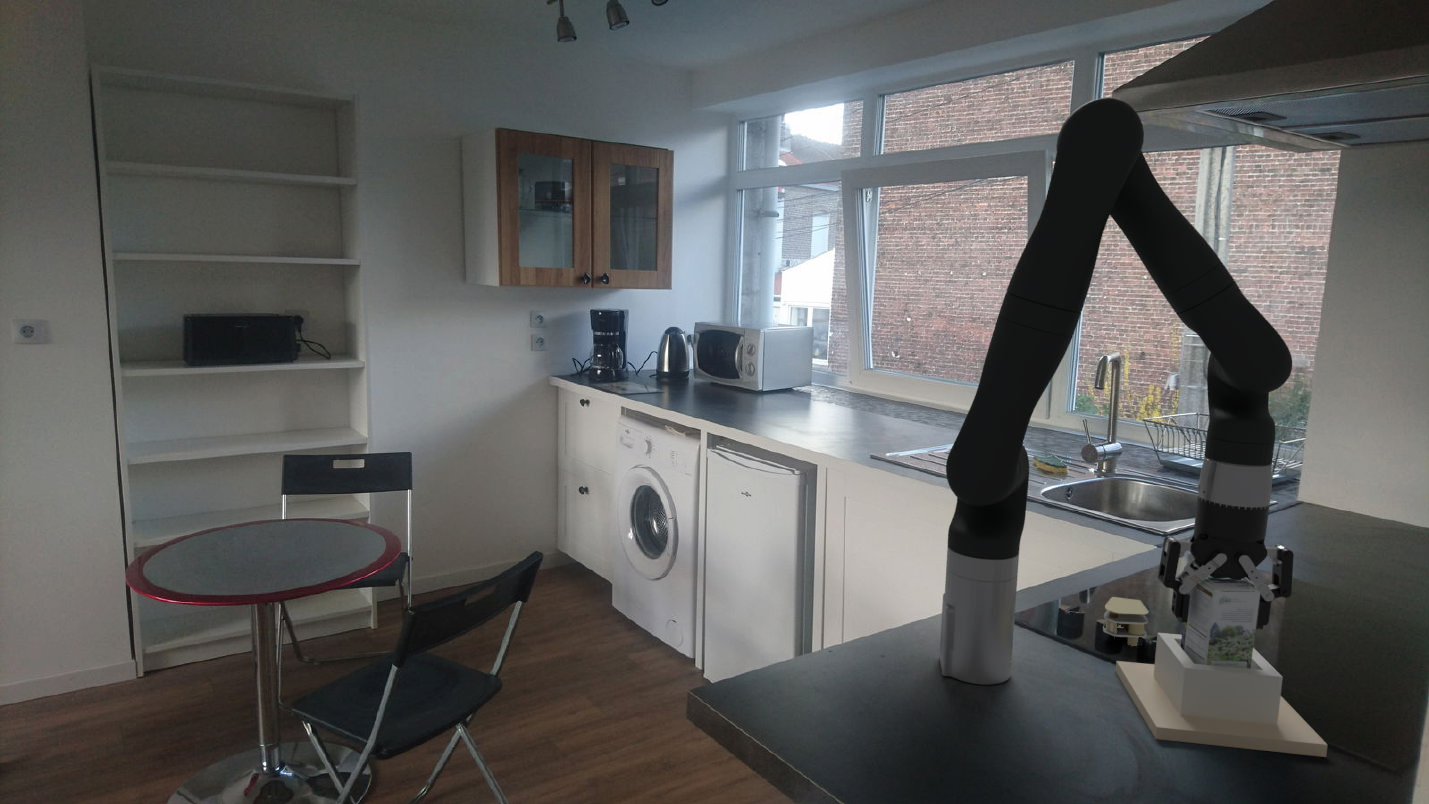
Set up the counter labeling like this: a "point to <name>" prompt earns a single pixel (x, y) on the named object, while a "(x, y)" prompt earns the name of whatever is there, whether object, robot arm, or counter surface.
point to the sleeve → (1216, 702)
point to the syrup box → (1221, 623)
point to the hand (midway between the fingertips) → (1218, 623)
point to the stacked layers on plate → (1126, 619)
